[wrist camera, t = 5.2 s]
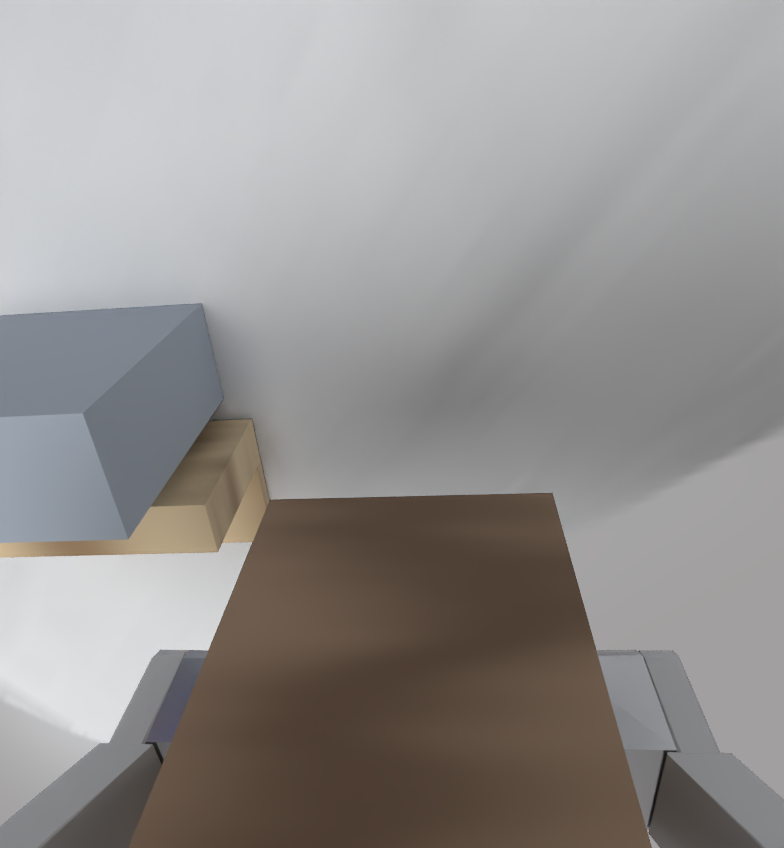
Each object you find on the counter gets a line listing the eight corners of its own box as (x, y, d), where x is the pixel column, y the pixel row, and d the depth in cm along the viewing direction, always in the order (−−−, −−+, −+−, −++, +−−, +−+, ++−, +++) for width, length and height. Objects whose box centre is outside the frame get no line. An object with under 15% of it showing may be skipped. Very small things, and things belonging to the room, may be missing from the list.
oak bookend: (251, 418, 25) (204, 505, 20) (276, 533, 28) (240, 634, 23) (24, 428, 26) (-78, 514, 21) (70, 538, 29) (-9, 637, 24)
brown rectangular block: (551, 492, 10) (687, 973, 5) (542, 652, 12) (630, 1131, 7) (270, 499, 11) (88, 945, 5) (302, 652, 13) (197, 1097, 7)
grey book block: (201, 302, 23) (82, 413, 15) (224, 397, 25) (128, 539, 17) (3, 315, 24) (-210, 426, 16) (39, 406, 26) (-135, 546, 18)
